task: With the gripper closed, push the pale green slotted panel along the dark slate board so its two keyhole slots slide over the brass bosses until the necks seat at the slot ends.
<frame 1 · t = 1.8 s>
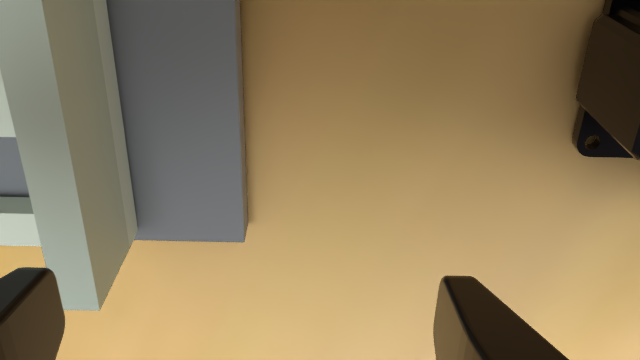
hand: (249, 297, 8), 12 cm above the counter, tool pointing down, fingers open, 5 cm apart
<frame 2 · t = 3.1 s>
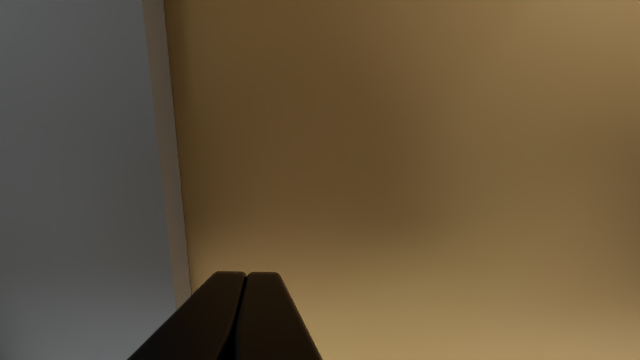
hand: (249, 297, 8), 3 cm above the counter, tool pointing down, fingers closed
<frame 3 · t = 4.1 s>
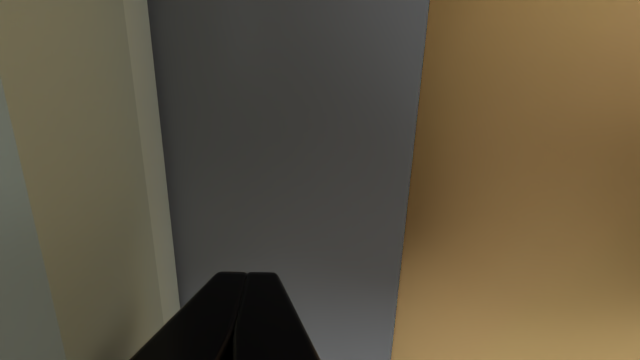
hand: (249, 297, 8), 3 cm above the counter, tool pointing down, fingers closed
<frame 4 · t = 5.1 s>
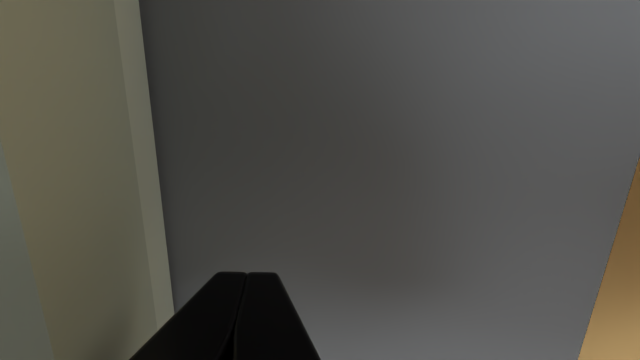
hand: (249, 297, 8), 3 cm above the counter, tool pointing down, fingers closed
board: (99, 183, 11), on the counter
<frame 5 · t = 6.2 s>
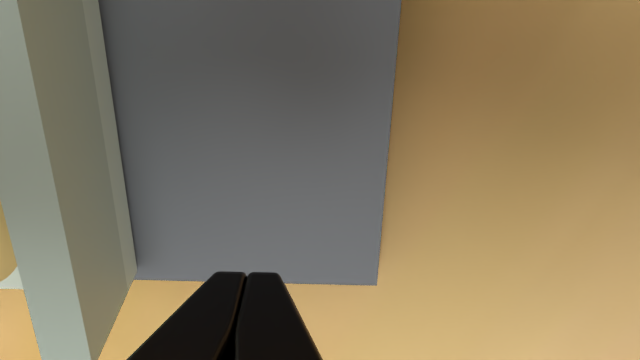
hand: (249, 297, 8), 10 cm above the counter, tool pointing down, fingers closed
board: (72, 62, 17), on the counter
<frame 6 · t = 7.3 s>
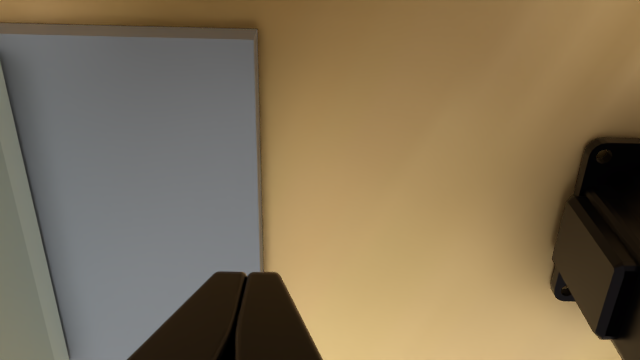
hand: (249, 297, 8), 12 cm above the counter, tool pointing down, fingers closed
board: (13, 206, 22), on the counter
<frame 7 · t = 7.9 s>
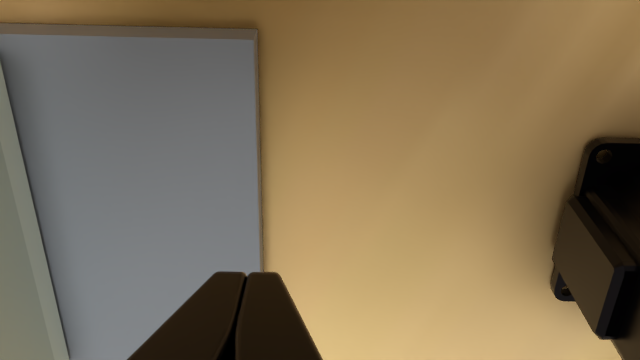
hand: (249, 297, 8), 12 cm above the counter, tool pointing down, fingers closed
board: (13, 207, 22), on the counter
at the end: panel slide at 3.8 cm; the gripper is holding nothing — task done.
